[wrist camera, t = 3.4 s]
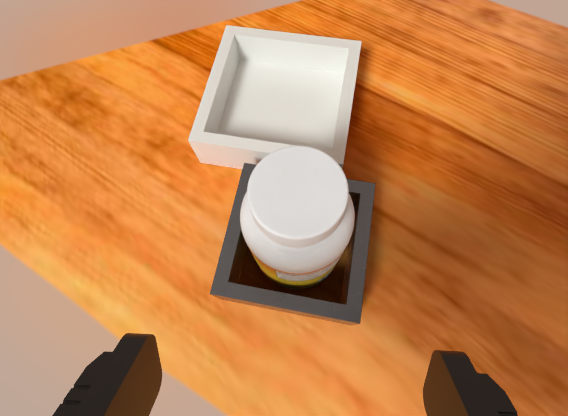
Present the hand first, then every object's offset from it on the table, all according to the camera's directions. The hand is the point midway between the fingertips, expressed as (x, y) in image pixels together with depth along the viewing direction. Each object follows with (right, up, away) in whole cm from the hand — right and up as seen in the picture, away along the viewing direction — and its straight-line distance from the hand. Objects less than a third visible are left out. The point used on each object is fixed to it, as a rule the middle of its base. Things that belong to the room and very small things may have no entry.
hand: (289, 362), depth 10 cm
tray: (0, +12, +16) cm, 20 cm away
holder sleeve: (+1, +2, +12) cm, 12 cm away
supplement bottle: (+1, +2, +12) cm, 13 cm away
